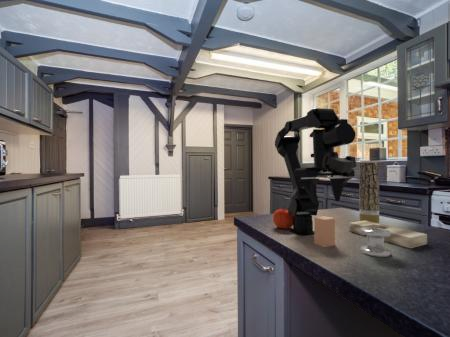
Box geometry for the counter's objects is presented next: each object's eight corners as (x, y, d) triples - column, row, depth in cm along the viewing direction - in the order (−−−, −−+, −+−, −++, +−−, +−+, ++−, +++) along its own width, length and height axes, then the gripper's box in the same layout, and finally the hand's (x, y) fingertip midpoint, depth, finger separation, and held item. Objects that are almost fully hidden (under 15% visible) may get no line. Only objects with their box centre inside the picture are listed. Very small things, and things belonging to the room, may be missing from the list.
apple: (268, 227, 94) (268, 206, 94) (282, 224, 99) (282, 204, 99) (285, 232, 88) (285, 209, 88) (299, 228, 93) (299, 207, 93)
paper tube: (382, 226, 94) (382, 160, 94) (362, 225, 96) (362, 161, 95) (375, 222, 101) (375, 161, 100) (357, 221, 102) (357, 161, 102)
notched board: (349, 231, 88) (349, 222, 88) (364, 228, 91) (364, 220, 91) (410, 248, 70) (410, 237, 70) (427, 244, 73) (427, 234, 73)
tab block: (314, 243, 75) (314, 217, 75) (324, 241, 77) (324, 216, 77) (324, 247, 71) (324, 219, 71) (334, 245, 73) (334, 218, 73)
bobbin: (354, 250, 69) (354, 228, 68) (371, 246, 71) (371, 226, 71) (379, 259, 62) (379, 235, 62) (397, 254, 65) (397, 232, 65)
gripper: (320, 144, 63) (323, 205, 62) (369, 147, 71) (373, 201, 70) (291, 150, 73) (294, 203, 72) (337, 151, 81) (340, 199, 80)
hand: (326, 201), depth 73 cm, fingers open, 9 cm apart
